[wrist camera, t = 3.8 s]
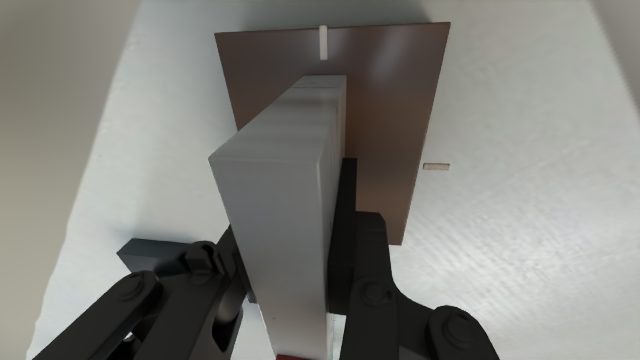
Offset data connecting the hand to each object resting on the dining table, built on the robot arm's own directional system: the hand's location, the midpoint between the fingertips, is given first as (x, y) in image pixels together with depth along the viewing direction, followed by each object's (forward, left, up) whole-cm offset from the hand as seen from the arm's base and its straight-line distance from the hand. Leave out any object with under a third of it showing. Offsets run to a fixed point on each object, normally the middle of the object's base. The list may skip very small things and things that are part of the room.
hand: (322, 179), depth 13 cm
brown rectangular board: (0, 0, -5) cm, 5 cm away
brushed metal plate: (0, 0, -2) cm, 2 cm away
